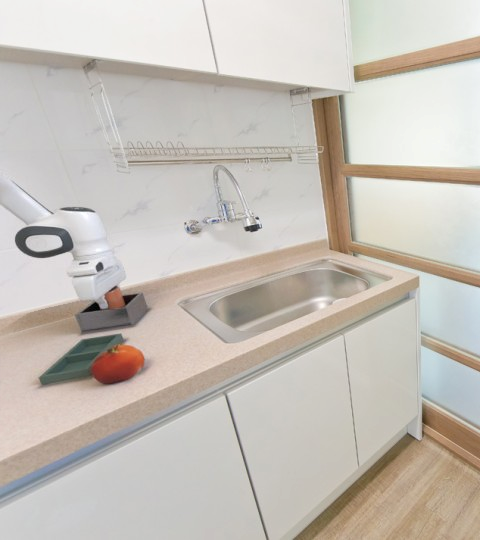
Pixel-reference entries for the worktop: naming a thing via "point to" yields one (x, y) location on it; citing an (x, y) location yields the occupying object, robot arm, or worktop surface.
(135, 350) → the tomato
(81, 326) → the basin
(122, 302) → the cup
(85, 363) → the tray
